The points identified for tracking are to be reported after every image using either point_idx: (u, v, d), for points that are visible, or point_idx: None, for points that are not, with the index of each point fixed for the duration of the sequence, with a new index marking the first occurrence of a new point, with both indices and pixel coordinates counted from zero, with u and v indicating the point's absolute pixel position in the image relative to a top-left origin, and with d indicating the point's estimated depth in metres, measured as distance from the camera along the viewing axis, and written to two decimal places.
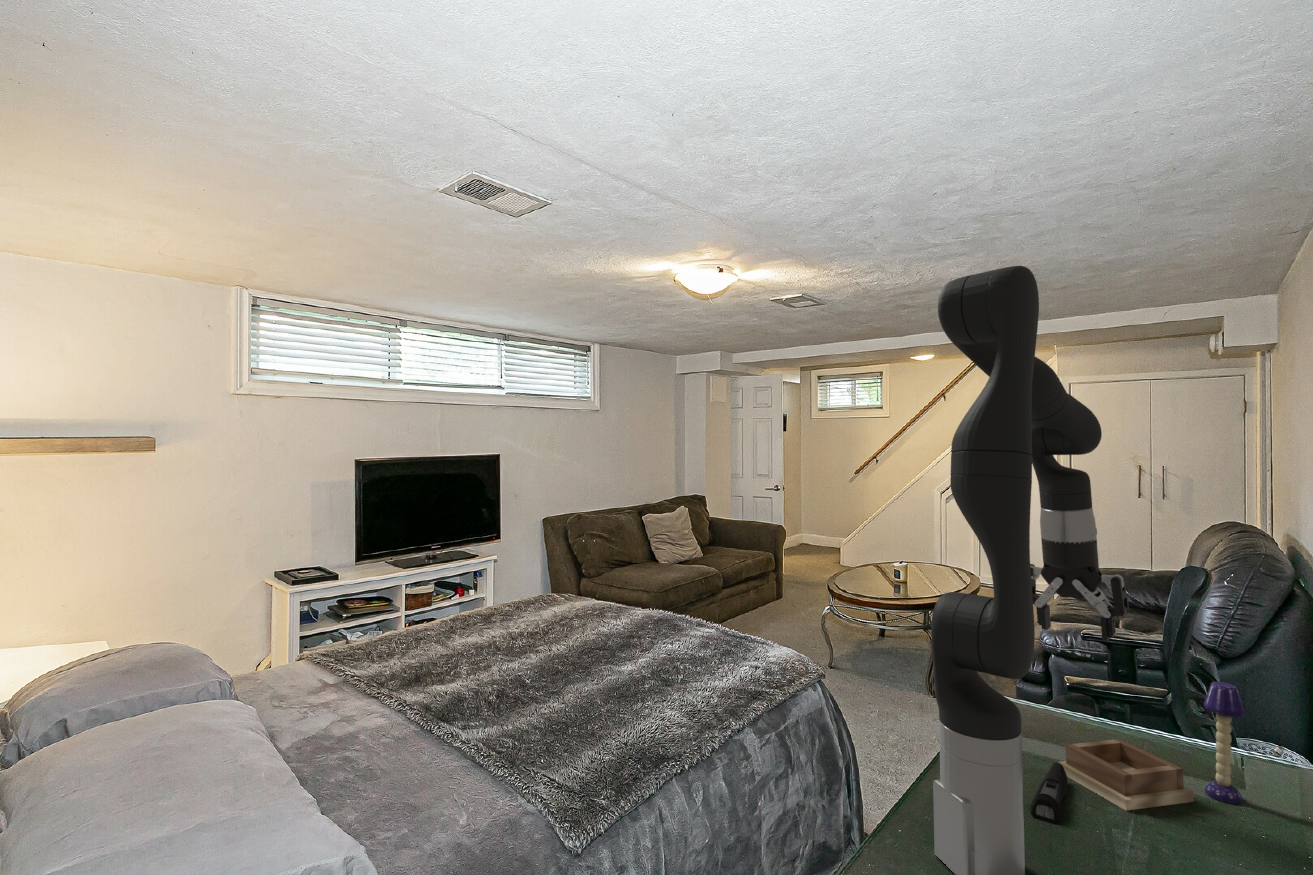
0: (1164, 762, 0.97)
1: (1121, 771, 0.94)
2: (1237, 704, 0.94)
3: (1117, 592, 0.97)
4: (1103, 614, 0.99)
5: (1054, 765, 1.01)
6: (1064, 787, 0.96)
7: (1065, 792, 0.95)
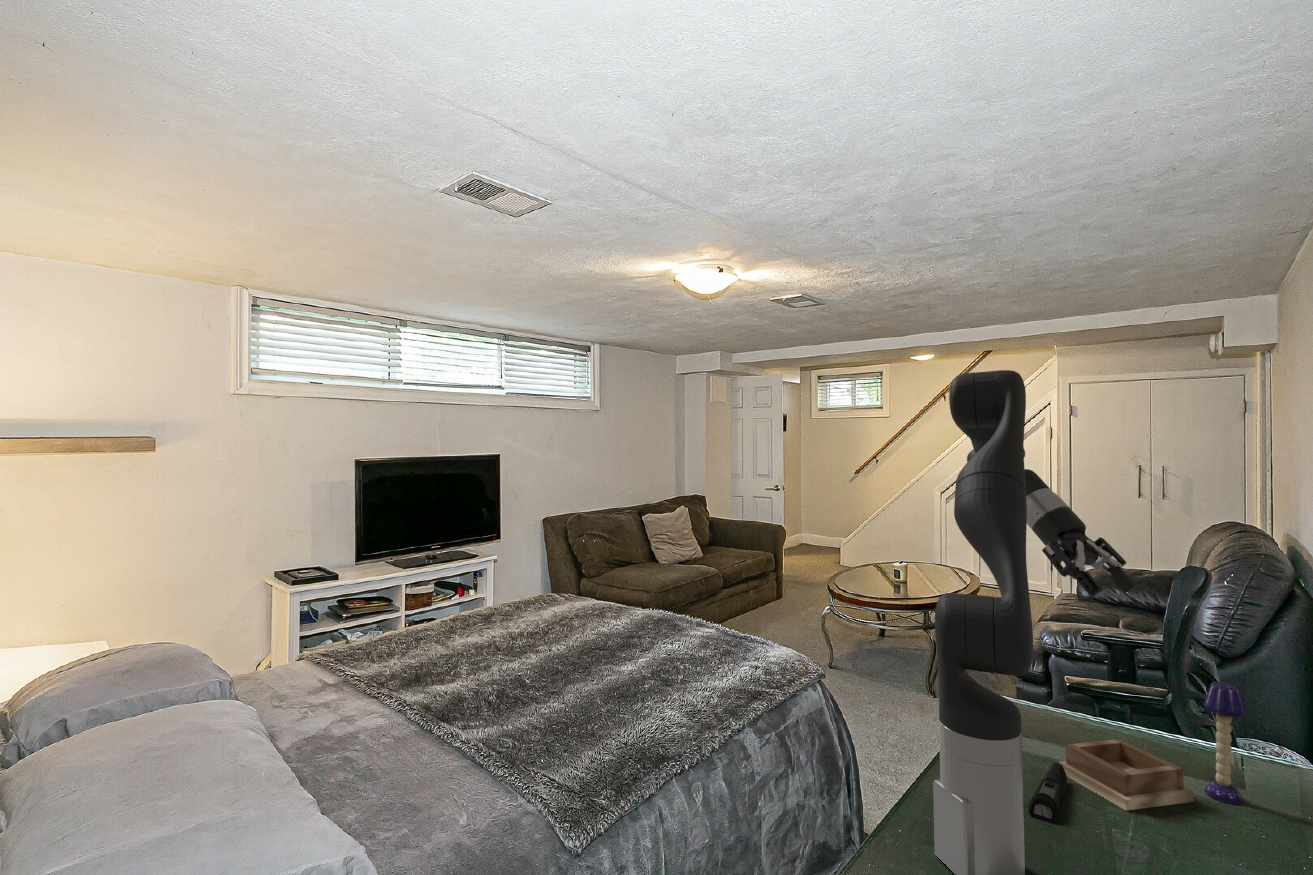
0: (1164, 762, 0.97)
1: (1121, 771, 0.94)
2: (1237, 704, 0.94)
3: (1110, 547, 1.16)
4: (1118, 564, 1.13)
5: (1054, 765, 1.01)
6: (1063, 787, 0.96)
7: (1064, 792, 0.95)
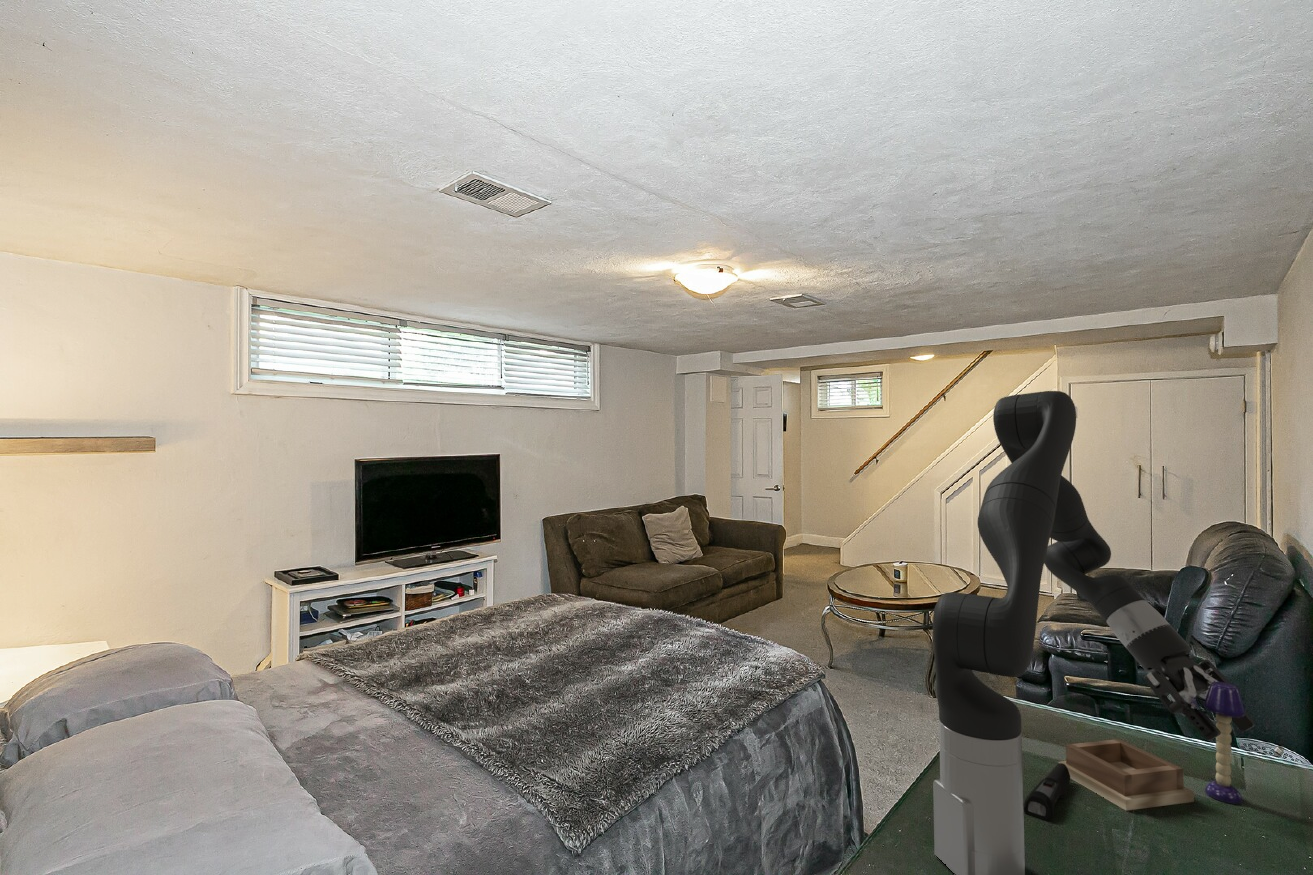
0: (1164, 762, 0.97)
1: (1121, 771, 0.94)
2: (1237, 704, 0.94)
3: (1218, 672, 1.02)
4: None
5: (1057, 766, 1.01)
6: (1064, 787, 0.96)
7: (1064, 792, 0.95)
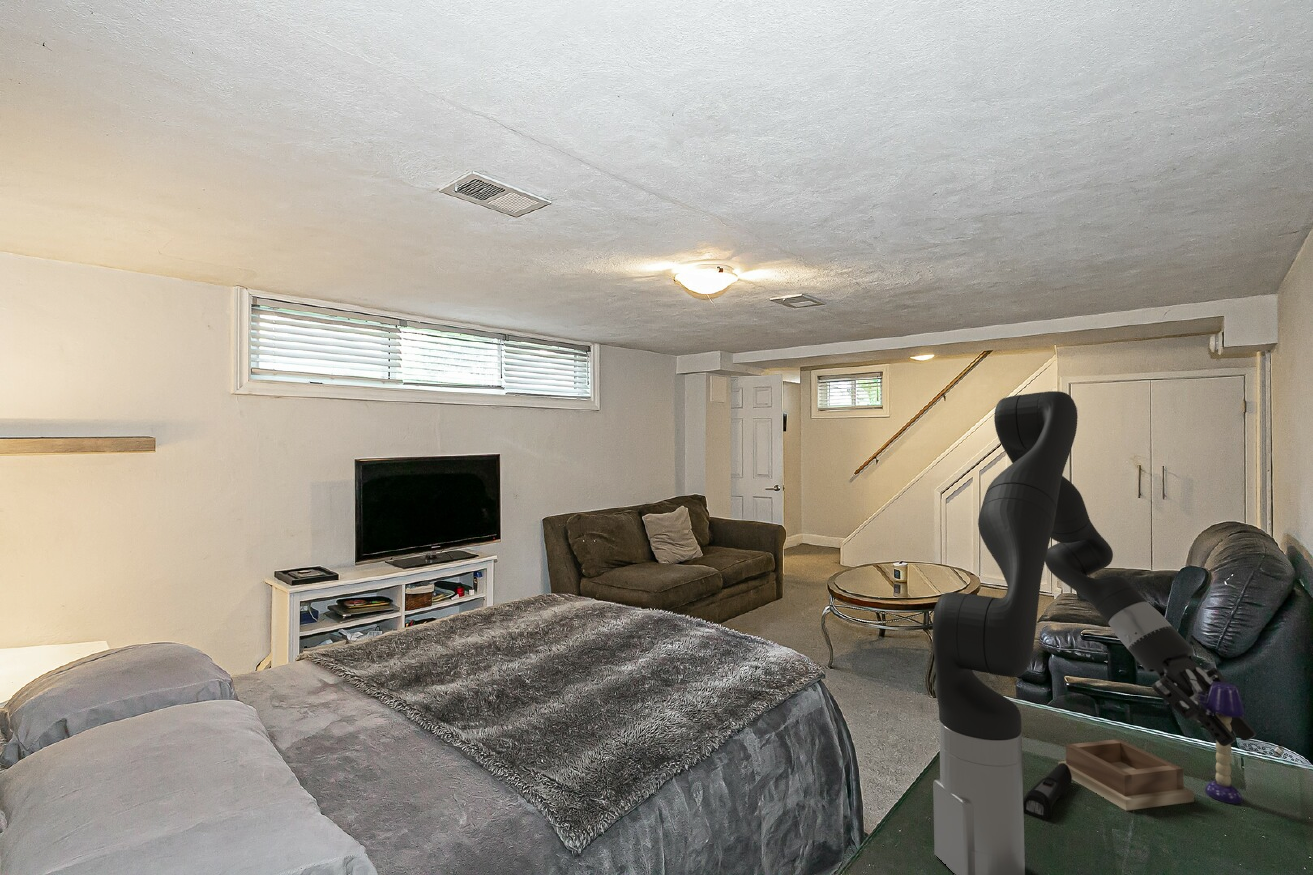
0: (1164, 762, 0.97)
1: (1121, 771, 0.94)
2: (1237, 704, 0.94)
3: (1224, 681, 1.01)
4: None
5: (1059, 765, 1.01)
6: (1064, 787, 0.96)
7: (1064, 791, 0.95)
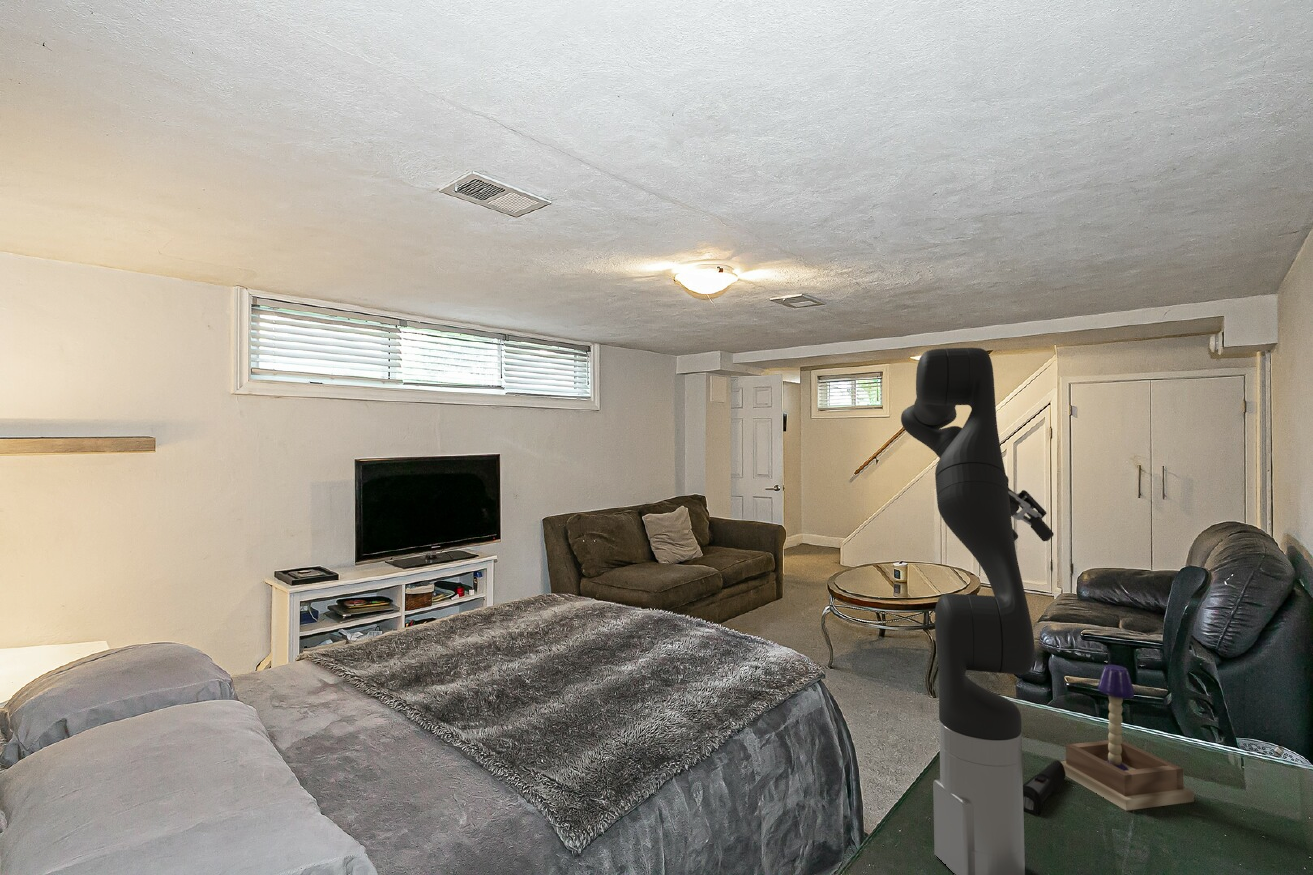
0: (1164, 762, 0.97)
1: (1121, 771, 0.94)
2: (1126, 686, 0.98)
3: (1032, 499, 1.18)
4: (1037, 515, 1.15)
5: (1052, 763, 1.02)
6: (1057, 783, 0.97)
7: (1056, 788, 0.97)
